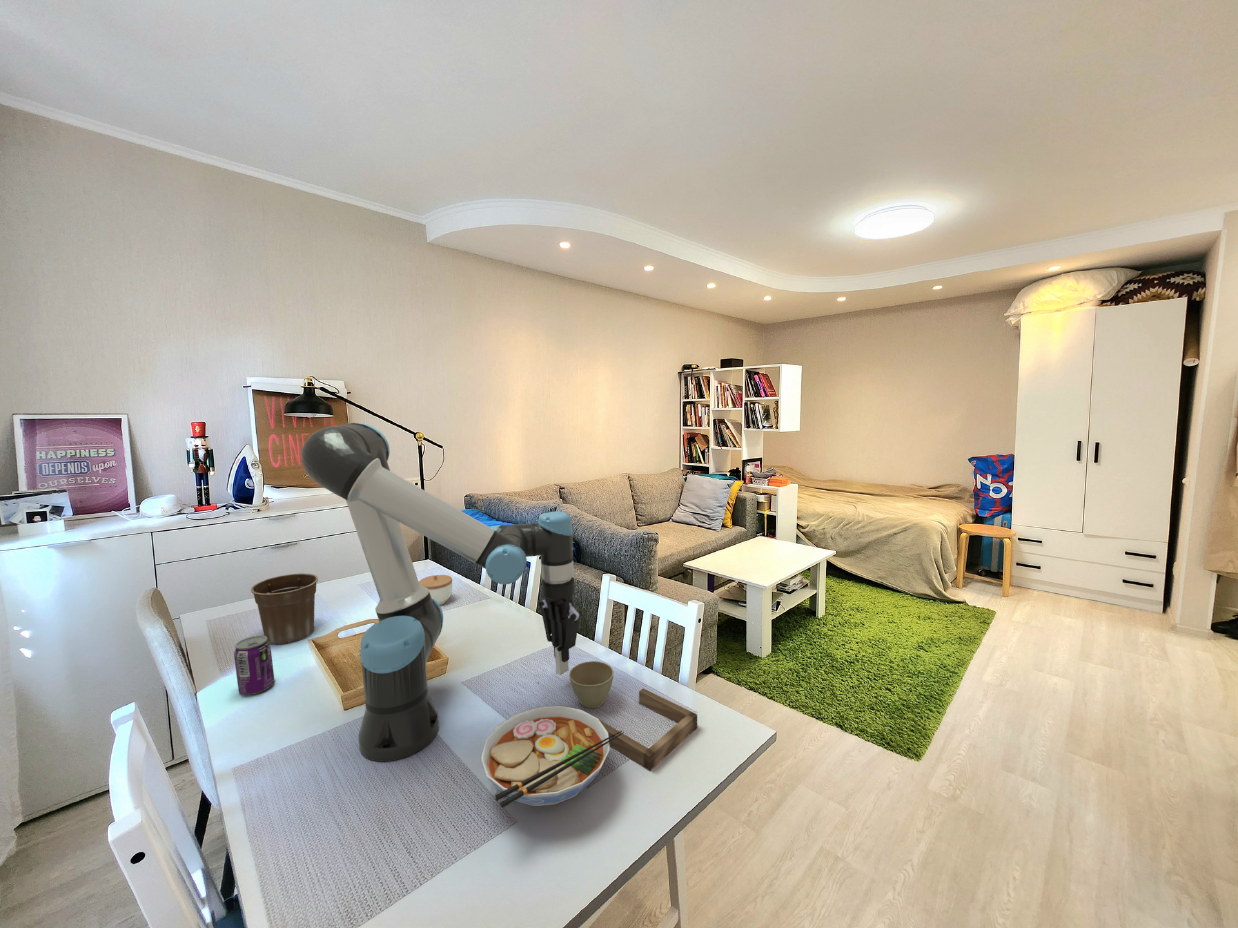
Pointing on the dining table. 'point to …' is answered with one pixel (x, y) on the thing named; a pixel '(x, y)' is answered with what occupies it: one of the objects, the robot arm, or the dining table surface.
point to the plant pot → (286, 606)
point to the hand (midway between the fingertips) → (562, 671)
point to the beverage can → (253, 665)
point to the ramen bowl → (545, 755)
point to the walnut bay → (666, 742)
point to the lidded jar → (438, 587)
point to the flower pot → (591, 682)
